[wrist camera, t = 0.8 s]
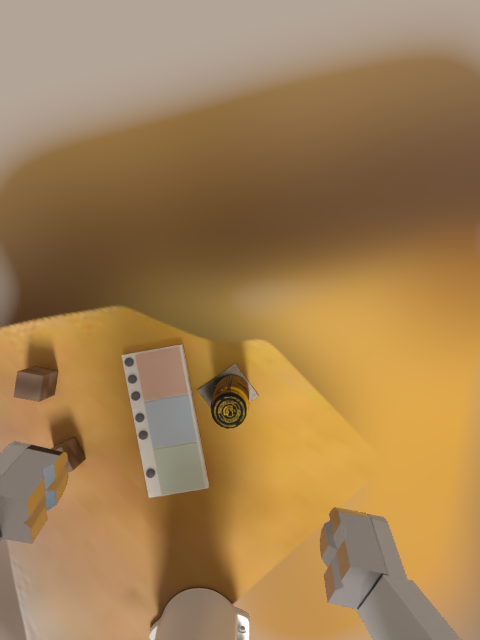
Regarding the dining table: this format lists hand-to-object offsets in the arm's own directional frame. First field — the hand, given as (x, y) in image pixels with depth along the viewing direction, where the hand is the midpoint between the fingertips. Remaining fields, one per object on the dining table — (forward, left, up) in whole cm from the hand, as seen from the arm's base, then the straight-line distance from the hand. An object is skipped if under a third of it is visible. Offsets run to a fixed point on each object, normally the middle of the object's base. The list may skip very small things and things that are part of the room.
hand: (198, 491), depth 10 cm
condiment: (-9, +4, -49) cm, 50 cm away
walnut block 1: (-1, +37, -49) cm, 61 cm away
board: (-12, +16, -49) cm, 53 cm away
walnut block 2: (-15, +35, -49) cm, 62 cm away
